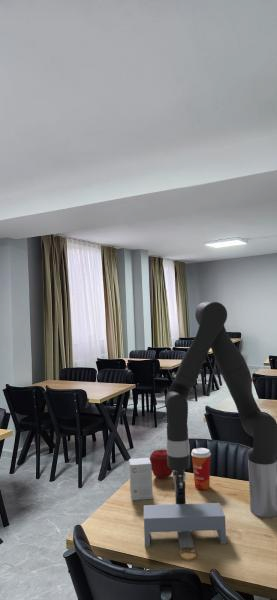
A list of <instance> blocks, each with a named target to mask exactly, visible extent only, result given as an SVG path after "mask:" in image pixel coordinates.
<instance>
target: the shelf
mask: <svg viewBox="0 0 277 600" xmlns="http://www.w3.org/2000/svg"><path fill="white" fill-rule="evenodd" d="M143 525H144V526H143V531H144V533H143V534H144V536H143V537H144V547H150V546H151V544H150V543H151V538H150V537H151V536H150V535H151V534H150V533H169V532H171V533H173V532H175V533H176V532H177V531H191V532H202V531H216V533H217V536H218V538H219V542H220V544H221V545H227V531H226V530H227V529H226V528H227V526H226V515H225V513H224V510H223V508H222V505H221V503H220V502H210V503H207V502H205V503H203V502H202V503H186V504H176V503H175V504H172V503H171V504H148V505H143Z"/></svg>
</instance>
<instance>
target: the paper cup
mask: <svg viewBox="0 0 277 600" xmlns="http://www.w3.org/2000/svg"><path fill="white" fill-rule="evenodd" d="M211 455H212V453H211V452H210V449H208V448H205V447H198V448H193V449H192V450H191V453H190V456H191V459H192V469H193V479H194V481H193V482H194V487H195V489H197V490H199V491H200V490H201V491H206V490H209V489H210V482H211V481H210V480H211V479H210V478H211V471H210V469H211Z"/></svg>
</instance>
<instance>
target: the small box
mask: <svg viewBox="0 0 277 600" xmlns="http://www.w3.org/2000/svg"><path fill="white" fill-rule="evenodd" d="M128 463H129V464H128V465H129V466H128V467H129V493H130V498H131V501H139V500H140V501H141V500H152V499H154V495H153V494H154V493H153V472H152V466H151V462H150V457H142V458H141V457H140V458H129V459H128Z"/></svg>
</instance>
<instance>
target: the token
mask: <svg viewBox="0 0 277 600" xmlns="http://www.w3.org/2000/svg"><path fill="white" fill-rule="evenodd" d="M196 552H197V551H196V550H195V548H194V549H193V548H190V547H185V548H182V549H181V550H180V549H179V557H180V558H181V559H183V560H185V561H192V560H195V558H197V553H196Z"/></svg>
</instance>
